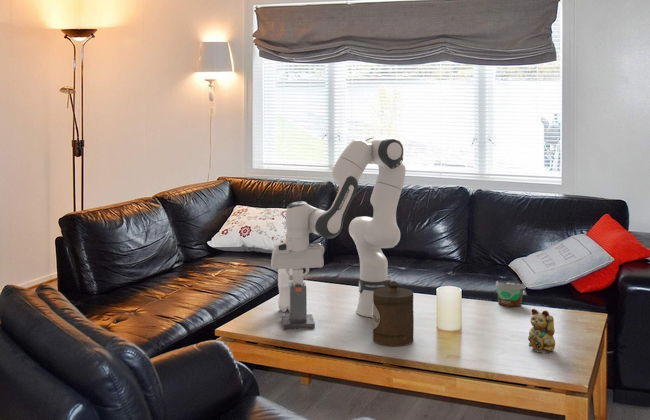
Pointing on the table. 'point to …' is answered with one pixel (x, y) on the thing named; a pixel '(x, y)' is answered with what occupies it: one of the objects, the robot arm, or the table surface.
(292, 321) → the stand
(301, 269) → the column
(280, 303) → the water bottle
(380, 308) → the wooden container
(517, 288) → the food container
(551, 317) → the decorative figurine
